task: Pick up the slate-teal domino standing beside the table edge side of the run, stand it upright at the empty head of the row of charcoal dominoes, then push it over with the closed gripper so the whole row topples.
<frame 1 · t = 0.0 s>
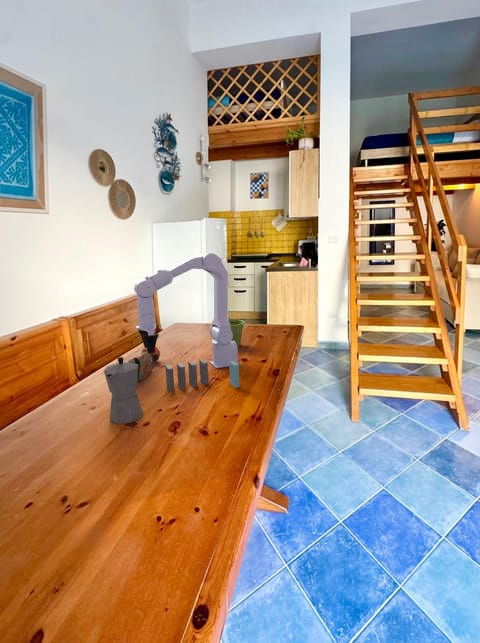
hand: (149, 350, 138), 10 cm above the table, tool pointing down, fingers open, 7 cm apart
plant pot: (232, 346, 174), on the table
domino 4: (182, 386, 129), on the table
pomegranate: (151, 362, 155), on the table
domino 2: (204, 382, 132), on the table
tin: (142, 376, 141), on the table
domino 5: (170, 389, 128), on the table
domino 3: (193, 384, 131), on the table
teal domino: (234, 385, 129), on the table
coffeepot: (128, 415, 110), on the table
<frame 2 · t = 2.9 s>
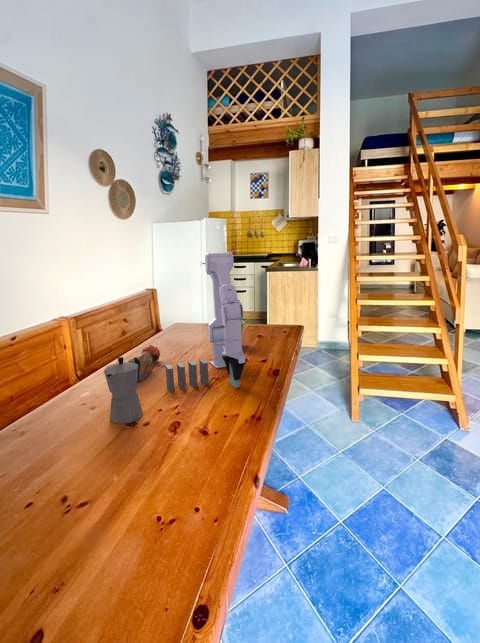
hand: (234, 377, 129), 3 cm above the table, tool pointing down, fingers closed on teal domino, 4 cm apart
teal domino: (234, 385, 129), on the table, touching gripper
everything else where it was.
when the fingers open (4 cm above the table, at t = 6.8 s): teal domino drops 1 cm, on the table.
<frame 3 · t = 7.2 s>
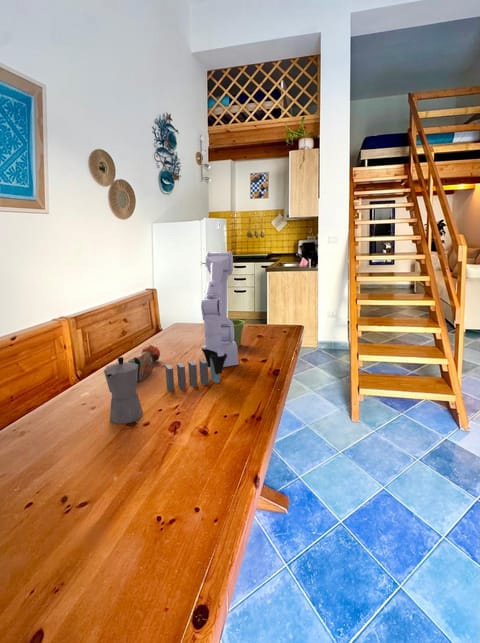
hand: (214, 370, 133), 4 cm above the table, tool pointing down, fingers open, 7 cm apart
teal domino: (215, 380, 134), on the table
everything else where it was.
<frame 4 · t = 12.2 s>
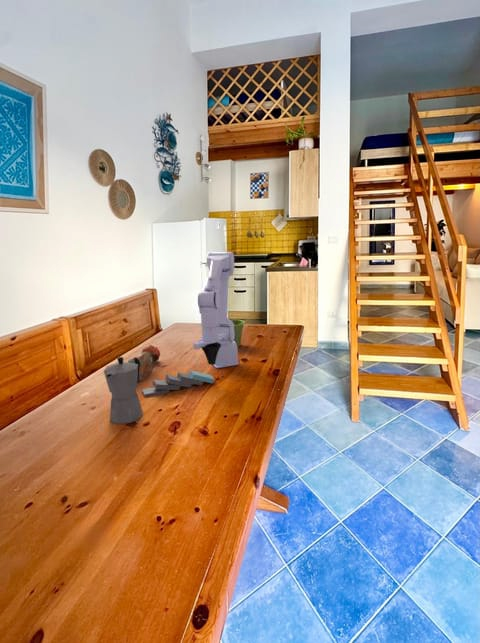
hand: (211, 363, 132), 6 cm above the table, tool pointing down, fingers closed
domino 4: (177, 385, 129), point 1 cm above the table, tilted 75°, touching domino 3
domino 2: (200, 381, 132), point 1 cm above the table, tilted 67°, touching domino 3, teal domino
domino 5: (167, 389, 127), on the table, tilted 90°
domino 3: (189, 383, 130), point 1 cm above the table, tilted 67°, touching domino 2, domino 4
teal domino: (211, 379, 133), point 1 cm above the table, tilted 67°, touching domino 2
everything else where it was.
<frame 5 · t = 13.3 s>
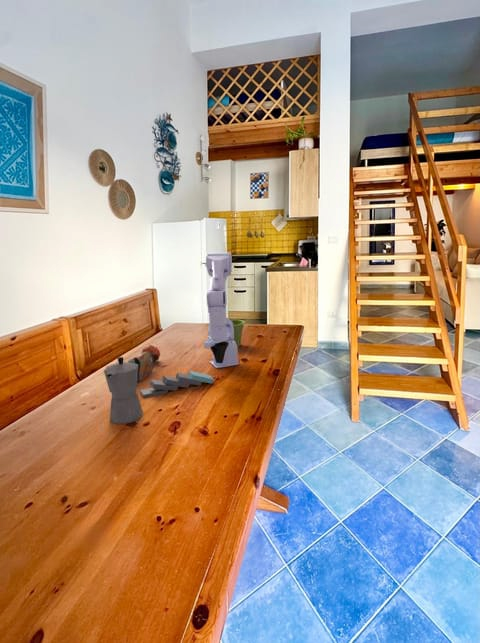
hand: (219, 362, 133), 6 cm above the table, tool pointing down, fingers closed
domino 4: (174, 386, 128), point 1 cm above the table, tilted 72°, touching domino 3, domino 5
domino 5: (165, 389, 127), on the table, tilted 90°, touching domino 4
domino 3: (186, 383, 130), point 1 cm above the table, tilted 68°, touching domino 2, domino 4
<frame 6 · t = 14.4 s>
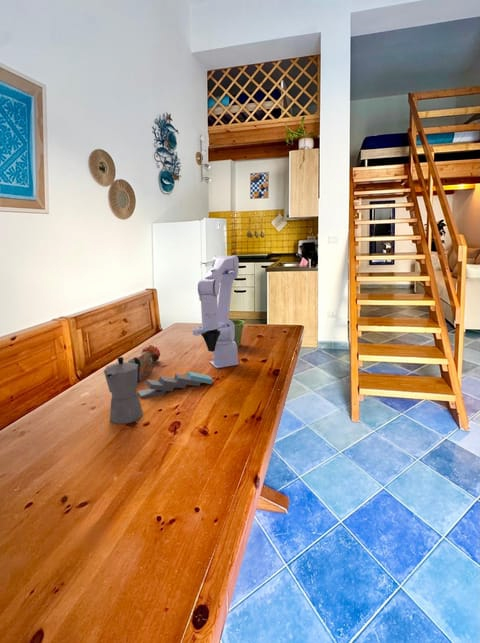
hand: (211, 350, 135), 10 cm above the table, tool pointing down, fingers closed
domino 4: (170, 386, 127), point 1 cm above the table, tilted 69°, touching domino 3, domino 5
domino 2: (198, 381, 131), point 1 cm above the table, tilted 70°, touching teal domino
domino 3: (182, 383, 130), point 1 cm above the table, tilted 69°, touching domino 4
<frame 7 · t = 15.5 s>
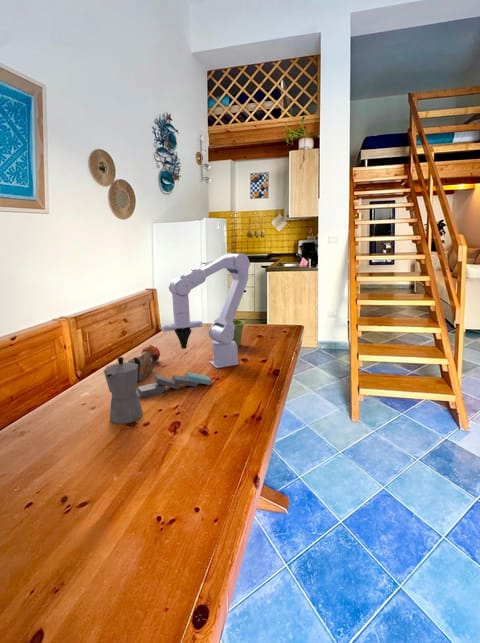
hand: (183, 348, 140), 10 cm above the table, tool pointing down, fingers closed
domino 4: (163, 386, 127), point 1 cm above the table, tilted 89°, touching domino 5
domino 3: (177, 385, 129), point 1 cm above the table, tilted 61°
teal domino: (208, 380, 132), point 1 cm above the table, tilted 70°, touching domino 2
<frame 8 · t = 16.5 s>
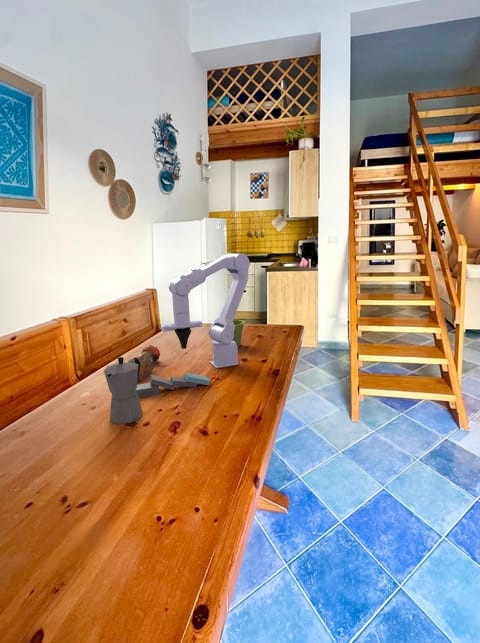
hand: (183, 348, 140), 10 cm above the table, tool pointing down, fingers closed
domino 4: (158, 386, 126), point 2 cm above the table, tilted 89°, touching domino 5
domino 2: (194, 382, 131), point 1 cm above the table, tilted 75°, touching domino 3, teal domino
domino 3: (173, 385, 128), point 1 cm above the table, tilted 64°, touching domino 2
teal domino: (207, 380, 132), point 1 cm above the table, tilted 70°, touching domino 2
at the end: domino 5 tilted 90°; teal domino tilted 70° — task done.
